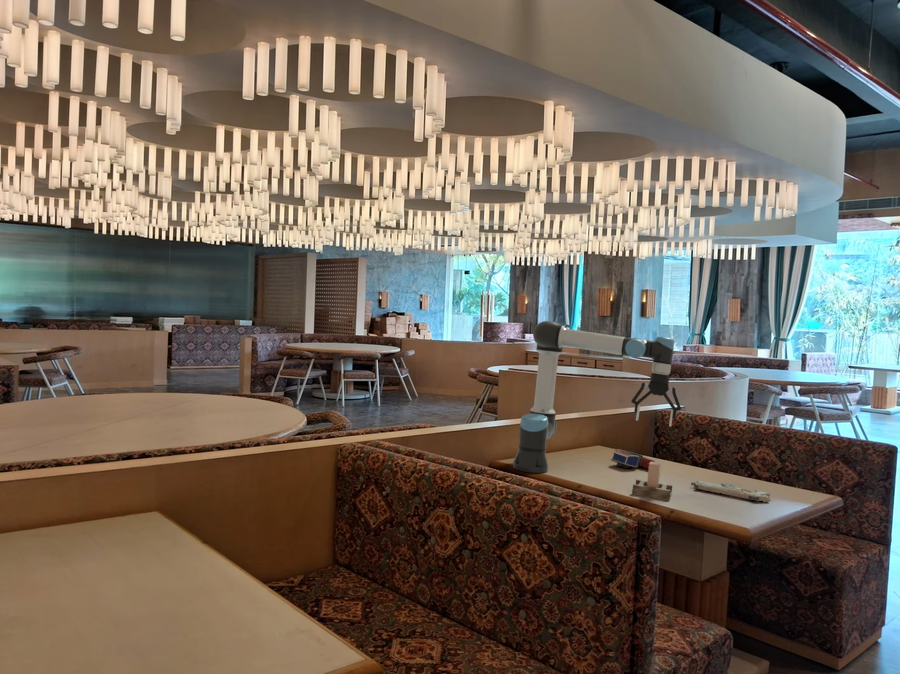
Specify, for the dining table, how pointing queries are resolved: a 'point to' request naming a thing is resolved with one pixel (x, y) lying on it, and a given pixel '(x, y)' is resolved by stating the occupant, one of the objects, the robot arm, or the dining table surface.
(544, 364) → the robot arm
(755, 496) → the grey flat slab
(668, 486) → the rack
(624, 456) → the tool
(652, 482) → the strip
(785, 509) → the dining table surface
